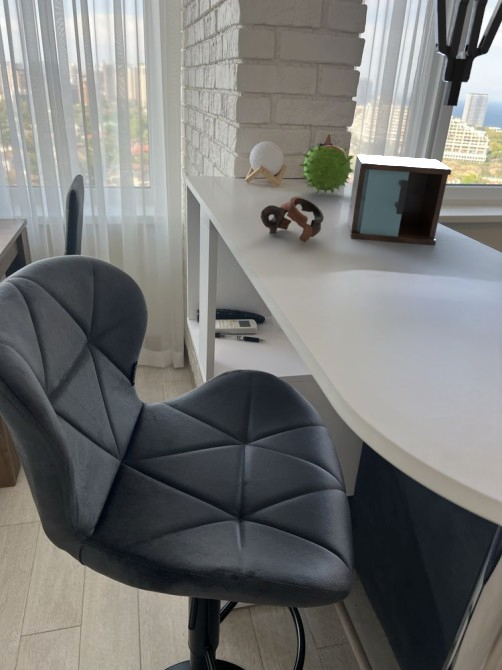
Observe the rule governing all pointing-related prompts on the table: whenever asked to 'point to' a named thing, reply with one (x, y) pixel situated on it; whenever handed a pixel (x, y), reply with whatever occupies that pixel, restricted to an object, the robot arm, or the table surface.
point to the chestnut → (327, 167)
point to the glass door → (384, 202)
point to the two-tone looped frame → (293, 217)
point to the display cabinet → (419, 200)
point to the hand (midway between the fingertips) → (450, 105)
